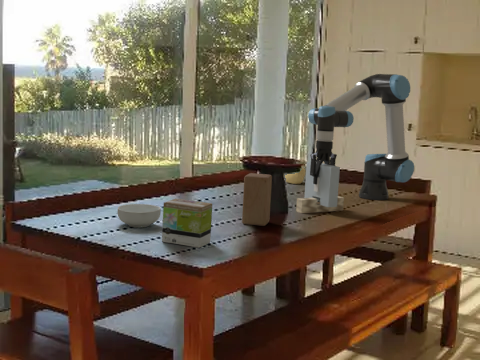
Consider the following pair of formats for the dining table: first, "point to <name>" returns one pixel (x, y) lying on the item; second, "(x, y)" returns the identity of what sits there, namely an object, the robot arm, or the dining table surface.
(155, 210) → the cereal bowl
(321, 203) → the grey board
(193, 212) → the tea box
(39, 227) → the dining table surface
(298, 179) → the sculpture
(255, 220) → the wooden block
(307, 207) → the maple rail
